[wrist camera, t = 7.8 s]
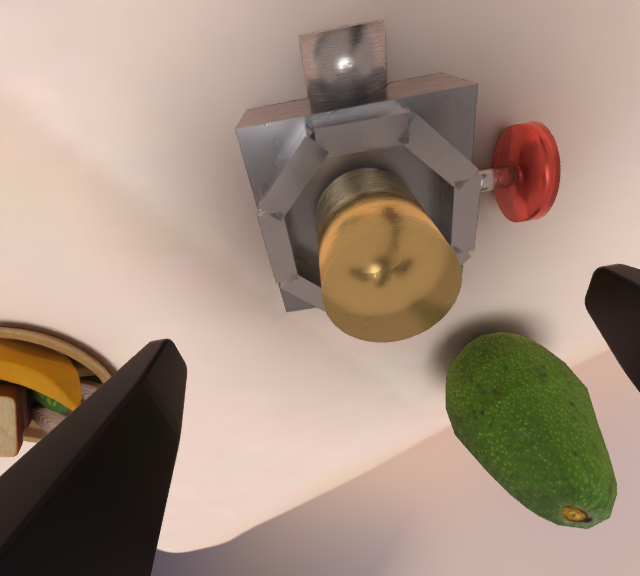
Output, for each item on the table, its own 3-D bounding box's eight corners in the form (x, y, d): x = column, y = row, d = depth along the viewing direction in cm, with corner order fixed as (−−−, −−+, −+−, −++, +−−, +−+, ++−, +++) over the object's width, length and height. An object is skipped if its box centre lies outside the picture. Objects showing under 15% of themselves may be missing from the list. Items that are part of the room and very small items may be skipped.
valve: (532, -12, 15) (634, -29, 10) (492, 269, 23) (540, 327, 18) (231, 48, 15) (204, 56, 11) (295, 301, 23) (295, 365, 19)
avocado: (532, 291, 24) (693, 470, 14) (538, 364, 28) (665, 540, 19) (415, 329, 26) (489, 516, 16) (438, 394, 30) (507, 571, 20)
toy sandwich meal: (108, 444, 32) (82, 502, 28) (-80, 401, 27) (-142, 462, 24) (148, 355, 26) (123, 412, 22) (-84, 281, 21) (-167, 336, 18)
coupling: (414, 158, 15) (467, 216, 10) (415, 252, 17) (457, 331, 13) (306, 178, 15) (311, 242, 10) (323, 267, 17) (332, 350, 13)
